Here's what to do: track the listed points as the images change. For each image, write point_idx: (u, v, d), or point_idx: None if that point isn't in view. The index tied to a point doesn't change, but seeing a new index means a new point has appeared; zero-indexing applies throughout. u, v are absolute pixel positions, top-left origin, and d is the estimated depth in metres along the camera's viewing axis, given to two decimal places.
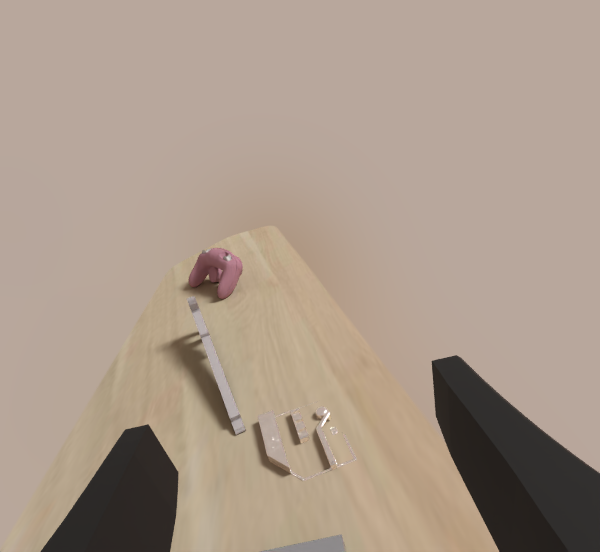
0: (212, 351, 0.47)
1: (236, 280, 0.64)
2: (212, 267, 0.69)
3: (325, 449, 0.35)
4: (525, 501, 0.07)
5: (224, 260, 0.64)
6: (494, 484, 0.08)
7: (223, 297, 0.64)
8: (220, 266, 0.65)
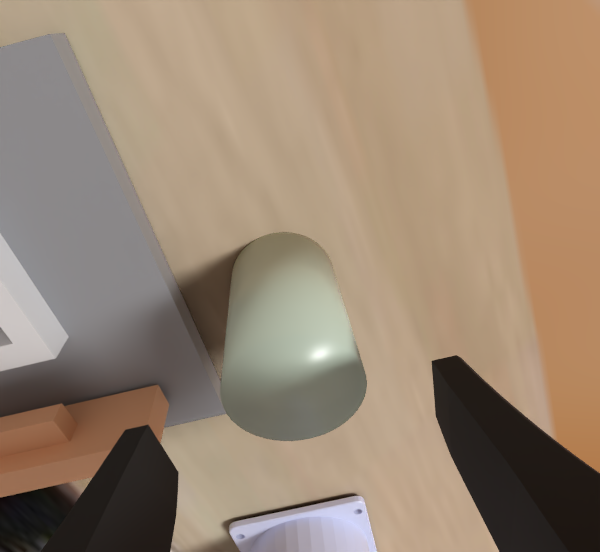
0: None
1: None
2: None
3: None
4: (525, 501, 0.07)
5: None
6: (495, 484, 0.08)
7: None
8: None
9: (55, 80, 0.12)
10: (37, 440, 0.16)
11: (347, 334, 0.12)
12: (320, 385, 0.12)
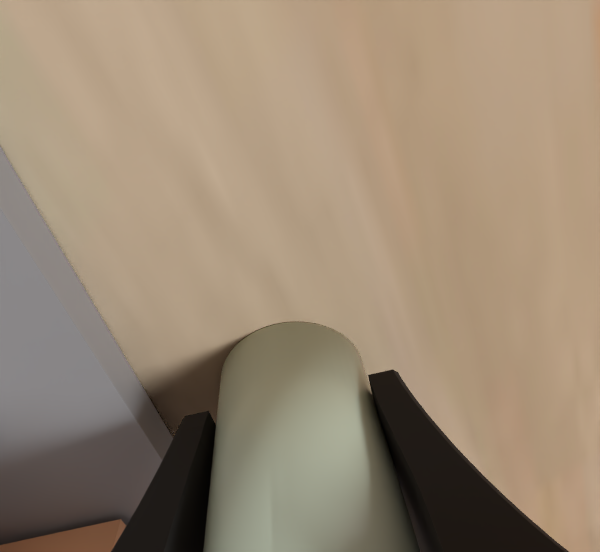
0: None
1: None
2: None
3: None
4: (430, 521, 0.07)
5: None
6: (414, 501, 0.08)
7: None
8: None
9: None
10: None
11: (408, 545, 0.07)
12: None
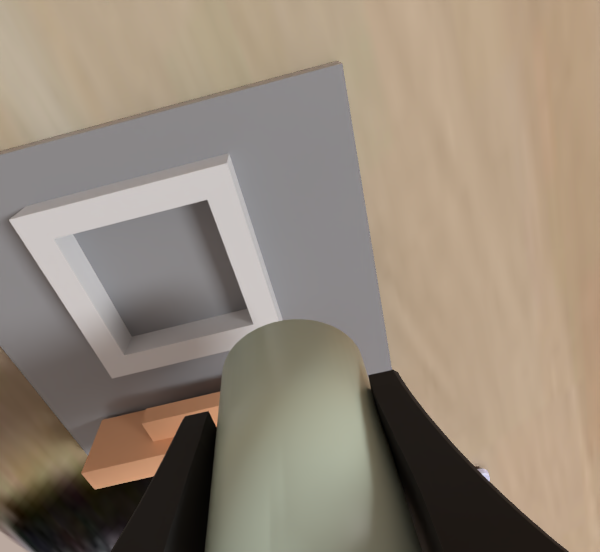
0: None
1: None
2: None
3: None
4: (429, 521, 0.07)
5: None
6: (413, 501, 0.08)
7: None
8: None
9: (335, 100, 0.14)
10: None
11: (406, 537, 0.07)
12: None
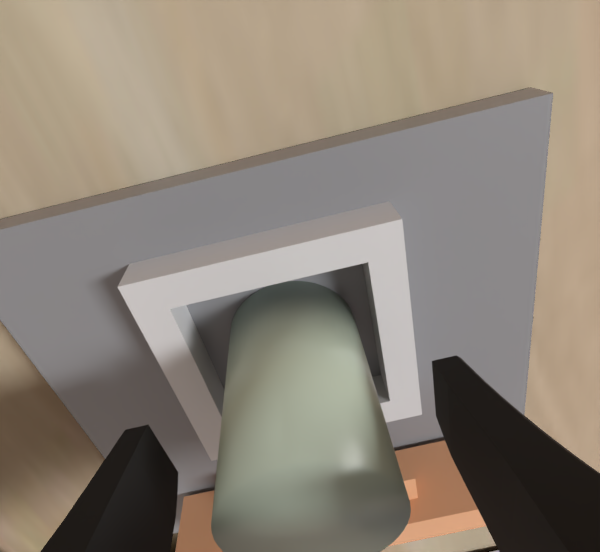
0: None
1: None
2: None
3: None
4: (525, 501, 0.07)
5: None
6: (495, 484, 0.08)
7: None
8: None
9: (533, 139, 0.11)
10: None
11: (382, 442, 0.09)
12: (348, 515, 0.08)
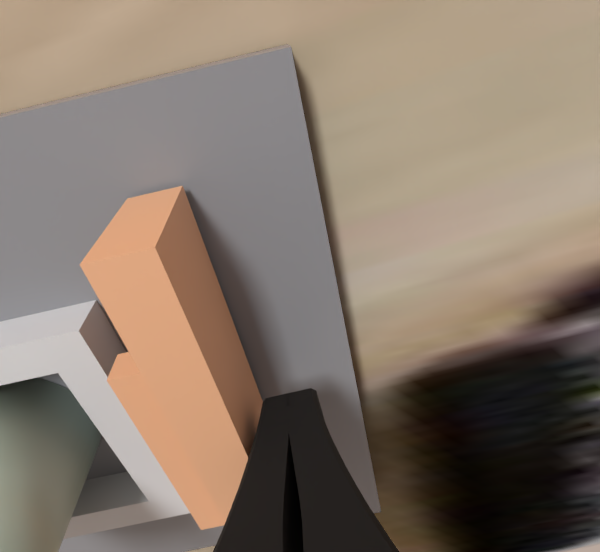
0: None
1: None
2: None
3: None
4: None
5: None
6: None
7: None
8: None
9: None
10: None
11: None
12: None
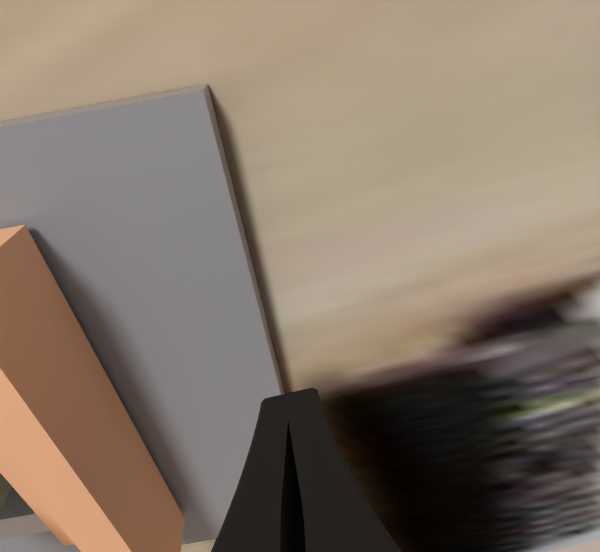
0: None
1: None
2: None
3: None
4: None
5: None
6: None
7: None
8: None
9: None
10: None
11: None
12: None
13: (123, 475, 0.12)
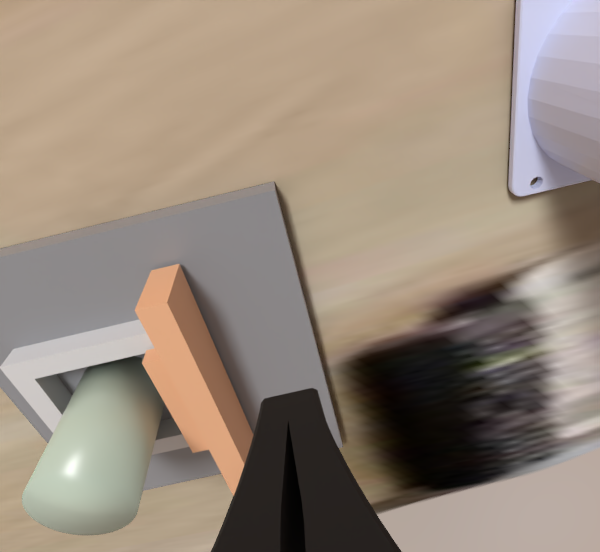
0: None
1: None
2: None
3: None
4: None
5: None
6: None
7: None
8: None
9: None
10: (169, 376, 0.18)
11: (38, 464, 0.15)
12: (68, 494, 0.15)
13: (228, 406, 0.20)
